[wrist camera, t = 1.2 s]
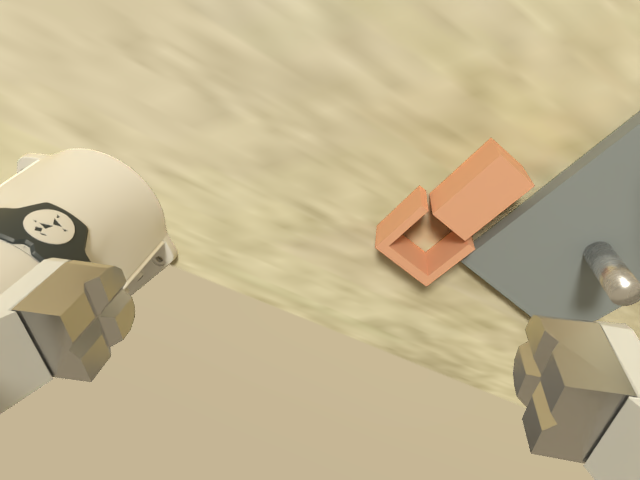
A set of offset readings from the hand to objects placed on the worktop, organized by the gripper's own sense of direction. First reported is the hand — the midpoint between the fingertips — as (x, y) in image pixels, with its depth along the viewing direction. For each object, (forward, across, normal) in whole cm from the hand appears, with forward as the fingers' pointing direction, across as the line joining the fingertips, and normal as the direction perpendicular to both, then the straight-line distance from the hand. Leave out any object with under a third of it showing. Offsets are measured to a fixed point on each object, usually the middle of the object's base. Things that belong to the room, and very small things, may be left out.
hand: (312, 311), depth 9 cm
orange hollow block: (+31, -11, +8) cm, 34 cm away
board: (+31, -22, +15) cm, 41 cm away
